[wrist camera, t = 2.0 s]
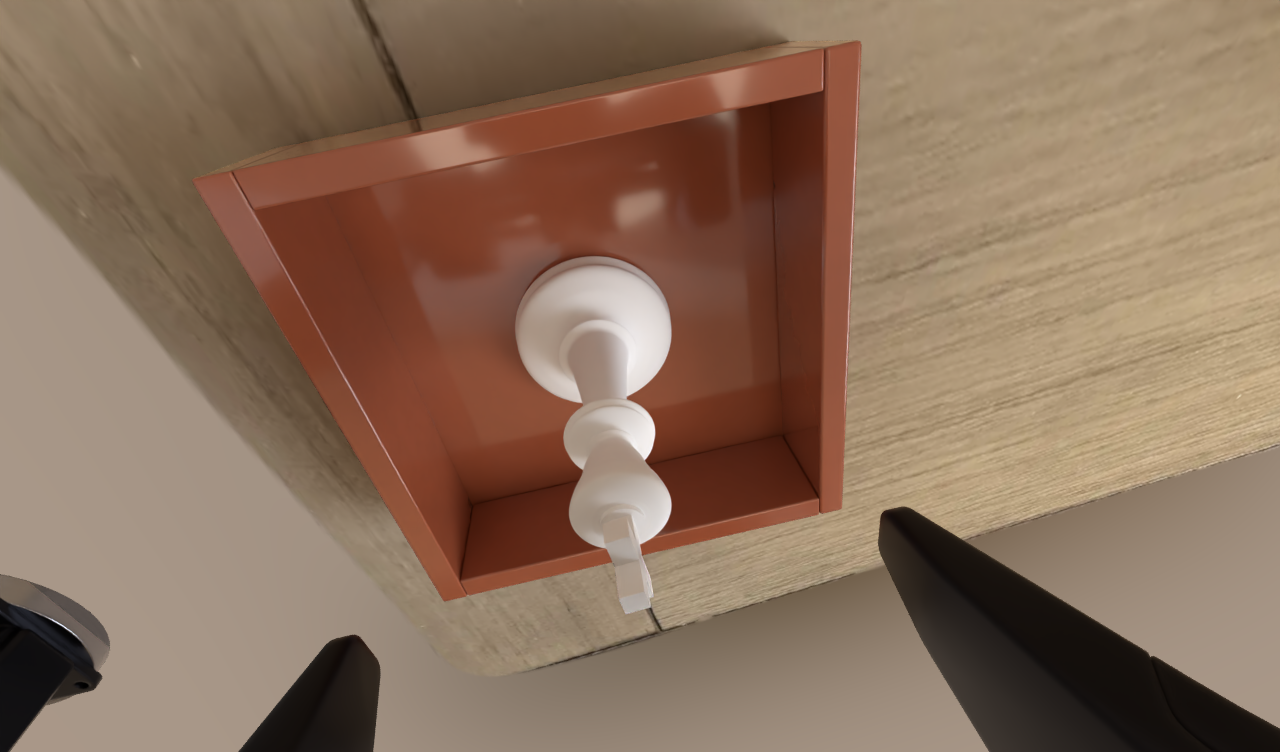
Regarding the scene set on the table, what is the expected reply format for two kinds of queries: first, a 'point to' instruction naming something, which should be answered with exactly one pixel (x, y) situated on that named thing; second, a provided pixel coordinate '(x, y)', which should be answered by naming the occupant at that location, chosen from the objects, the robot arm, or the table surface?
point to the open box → (544, 237)
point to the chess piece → (604, 400)
